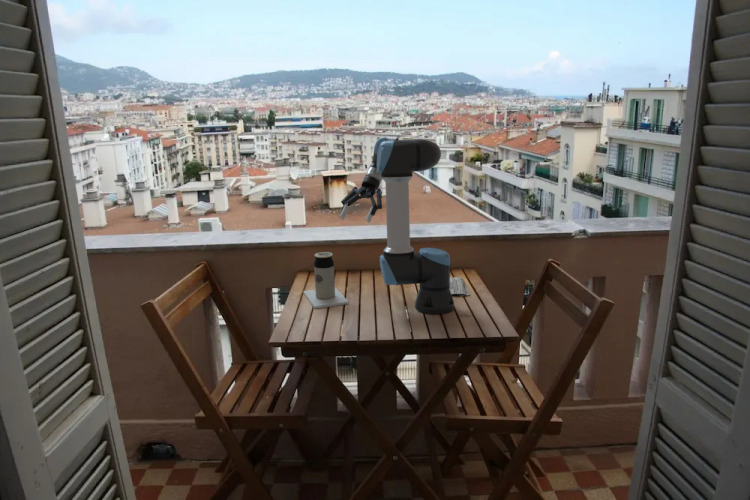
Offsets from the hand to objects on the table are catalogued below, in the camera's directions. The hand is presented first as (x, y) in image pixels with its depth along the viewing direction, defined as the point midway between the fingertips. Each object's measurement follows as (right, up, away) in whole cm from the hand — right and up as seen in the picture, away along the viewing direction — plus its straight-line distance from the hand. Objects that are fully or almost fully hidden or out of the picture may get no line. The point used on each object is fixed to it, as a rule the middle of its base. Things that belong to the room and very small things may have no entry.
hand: (354, 219), depth 238 cm
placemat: (-12, -33, -8) cm, 36 cm away
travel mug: (-12, -32, -9) cm, 36 cm away
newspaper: (+43, -30, +1) cm, 53 cm away
